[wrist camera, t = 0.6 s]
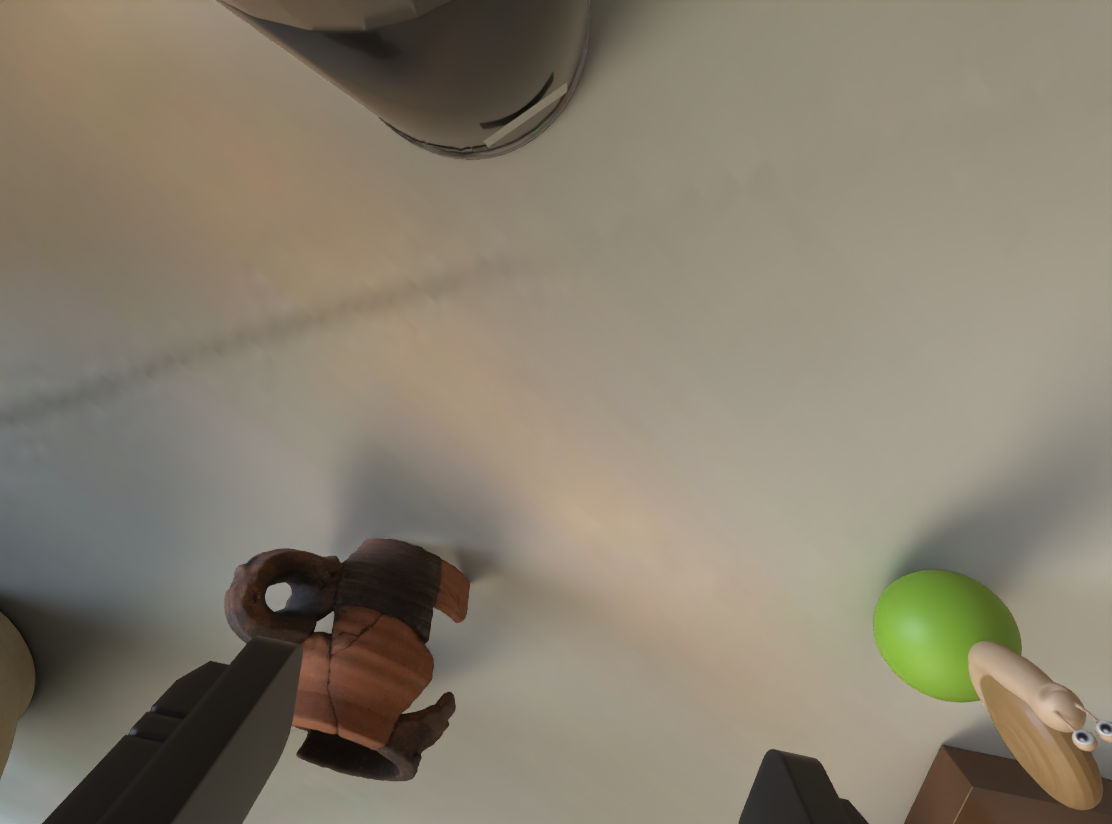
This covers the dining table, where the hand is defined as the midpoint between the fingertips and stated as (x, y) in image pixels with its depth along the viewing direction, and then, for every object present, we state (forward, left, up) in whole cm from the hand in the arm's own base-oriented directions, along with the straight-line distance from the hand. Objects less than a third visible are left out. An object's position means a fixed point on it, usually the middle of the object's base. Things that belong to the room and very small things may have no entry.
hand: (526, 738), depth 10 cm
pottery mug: (+11, -7, -18) cm, 22 cm away
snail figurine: (+4, +18, -18) cm, 26 cm away
